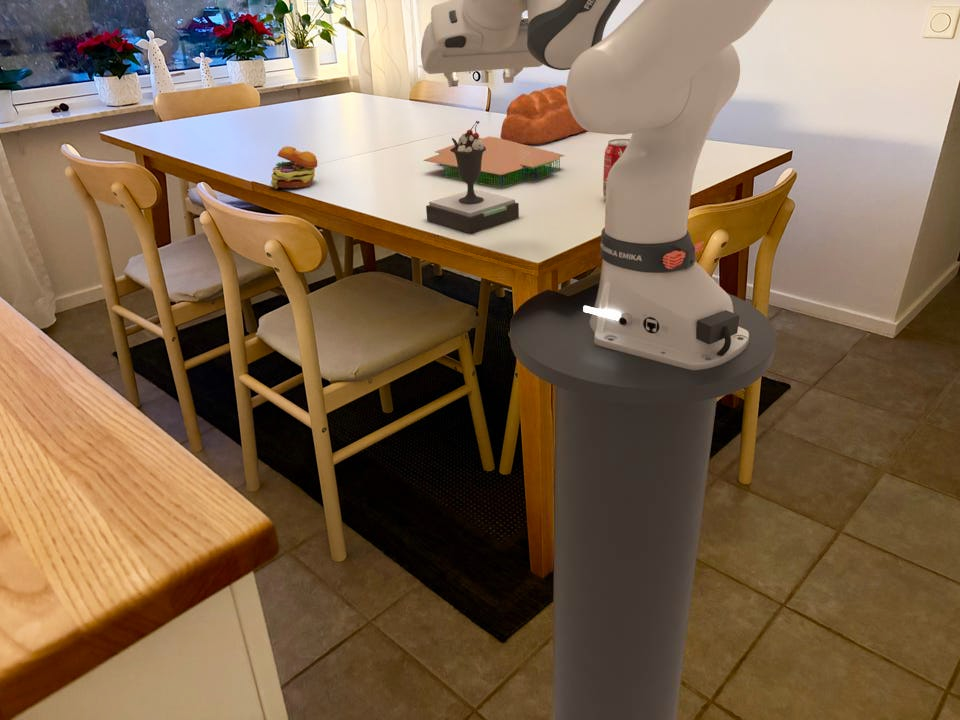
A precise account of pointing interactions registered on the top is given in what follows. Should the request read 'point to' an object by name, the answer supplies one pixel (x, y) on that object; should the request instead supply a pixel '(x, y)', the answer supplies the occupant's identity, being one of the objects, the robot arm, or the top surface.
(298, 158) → the cheeseburger
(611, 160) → the soda can
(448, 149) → the house
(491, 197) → the scale
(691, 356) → the robot arm
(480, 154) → the sundae
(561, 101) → the bread
